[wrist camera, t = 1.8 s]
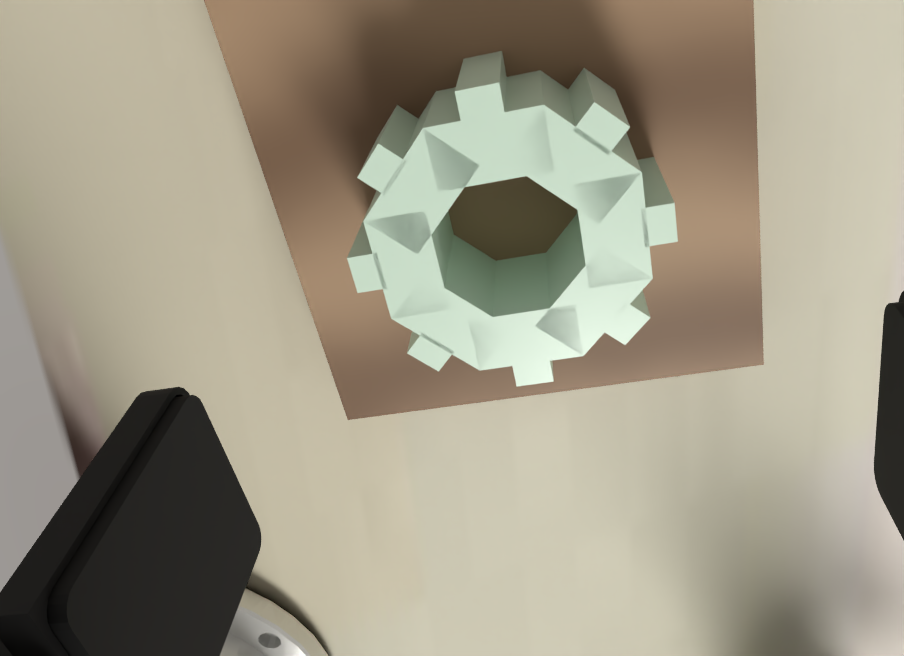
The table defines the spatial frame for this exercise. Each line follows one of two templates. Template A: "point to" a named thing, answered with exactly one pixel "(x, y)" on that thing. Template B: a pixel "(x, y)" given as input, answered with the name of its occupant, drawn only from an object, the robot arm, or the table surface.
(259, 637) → the robot arm
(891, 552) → the table surface
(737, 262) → the gear board
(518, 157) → the green gear
